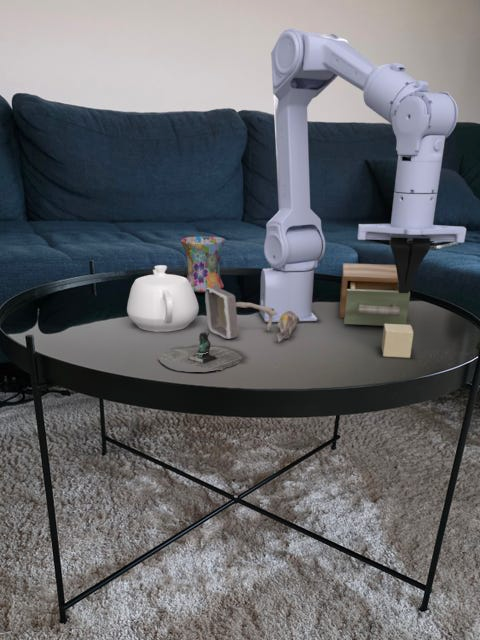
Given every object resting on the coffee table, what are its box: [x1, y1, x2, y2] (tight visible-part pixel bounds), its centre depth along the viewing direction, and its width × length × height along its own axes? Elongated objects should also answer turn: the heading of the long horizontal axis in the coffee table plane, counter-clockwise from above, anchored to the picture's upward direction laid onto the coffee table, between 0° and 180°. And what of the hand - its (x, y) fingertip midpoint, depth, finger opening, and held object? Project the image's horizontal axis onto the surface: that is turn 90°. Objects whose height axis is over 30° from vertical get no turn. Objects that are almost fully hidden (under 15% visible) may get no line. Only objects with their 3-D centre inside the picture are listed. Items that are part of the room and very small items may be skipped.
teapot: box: [126, 264, 200, 333], centre depth 102 cm, size 20×12×10 cm, turn 14°
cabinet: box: [339, 262, 398, 319], centre depth 112 cm, size 13×12×8 cm
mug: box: [180, 235, 226, 294], centre depth 127 cm, size 12×9×11 cm
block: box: [381, 324, 414, 359], centre depth 90 cm, size 4×4×4 cm
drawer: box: [343, 281, 411, 327], centre depth 103 cm, size 16×10×6 cm, turn 171°
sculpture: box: [158, 331, 243, 371], centre depth 88 cm, size 12×9×8 cm
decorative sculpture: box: [204, 287, 300, 343], centre depth 97 cm, size 16×10×7 cm, turn 94°
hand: (403, 291), depth 87 cm, fingers closed
